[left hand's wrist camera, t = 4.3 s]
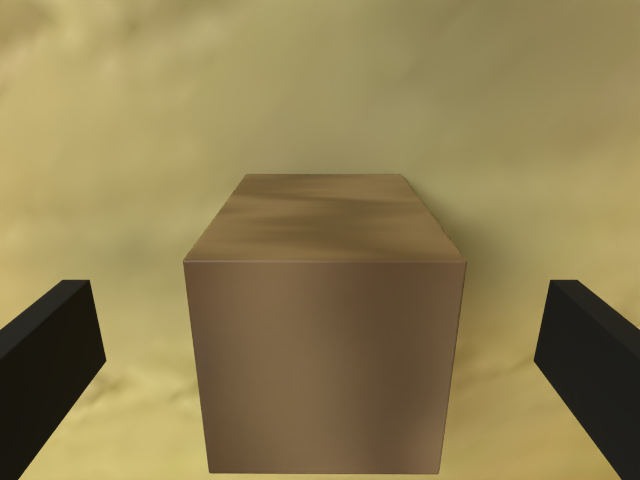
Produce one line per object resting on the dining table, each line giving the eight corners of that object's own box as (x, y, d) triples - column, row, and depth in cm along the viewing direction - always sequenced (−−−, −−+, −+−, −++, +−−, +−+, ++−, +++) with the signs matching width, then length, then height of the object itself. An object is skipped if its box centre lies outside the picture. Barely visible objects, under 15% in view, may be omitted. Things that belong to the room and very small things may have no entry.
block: (254, 312, 19) (208, 474, 11) (245, 174, 17) (181, 260, 9) (392, 312, 19) (439, 475, 11) (401, 174, 17) (468, 260, 9)
